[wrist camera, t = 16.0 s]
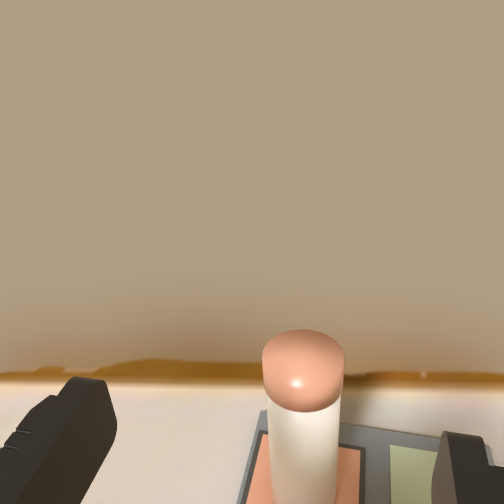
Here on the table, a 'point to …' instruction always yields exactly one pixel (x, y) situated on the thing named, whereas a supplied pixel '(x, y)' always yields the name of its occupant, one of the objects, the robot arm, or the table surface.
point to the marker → (303, 415)
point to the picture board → (358, 466)
